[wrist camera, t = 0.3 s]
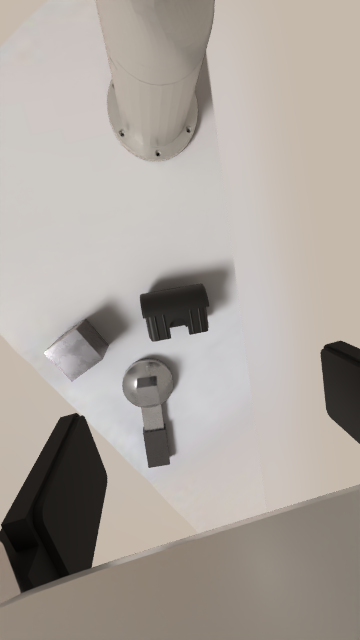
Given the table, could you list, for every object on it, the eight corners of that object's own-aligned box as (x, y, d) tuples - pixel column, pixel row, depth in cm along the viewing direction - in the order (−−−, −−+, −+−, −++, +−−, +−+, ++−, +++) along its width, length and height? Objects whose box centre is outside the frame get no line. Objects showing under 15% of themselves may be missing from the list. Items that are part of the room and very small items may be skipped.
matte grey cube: (57, 339, 44) (43, 352, 38) (85, 318, 44) (75, 328, 38) (81, 365, 46) (71, 381, 40) (108, 345, 45) (102, 359, 40)
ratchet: (119, 362, 46) (116, 375, 41) (169, 355, 47) (172, 367, 42) (136, 462, 52) (135, 484, 47) (181, 455, 53) (184, 476, 48)
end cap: (198, 280, 44) (206, 285, 38) (204, 320, 46) (213, 331, 40) (140, 291, 44) (138, 298, 37) (148, 330, 46) (148, 344, 39)
